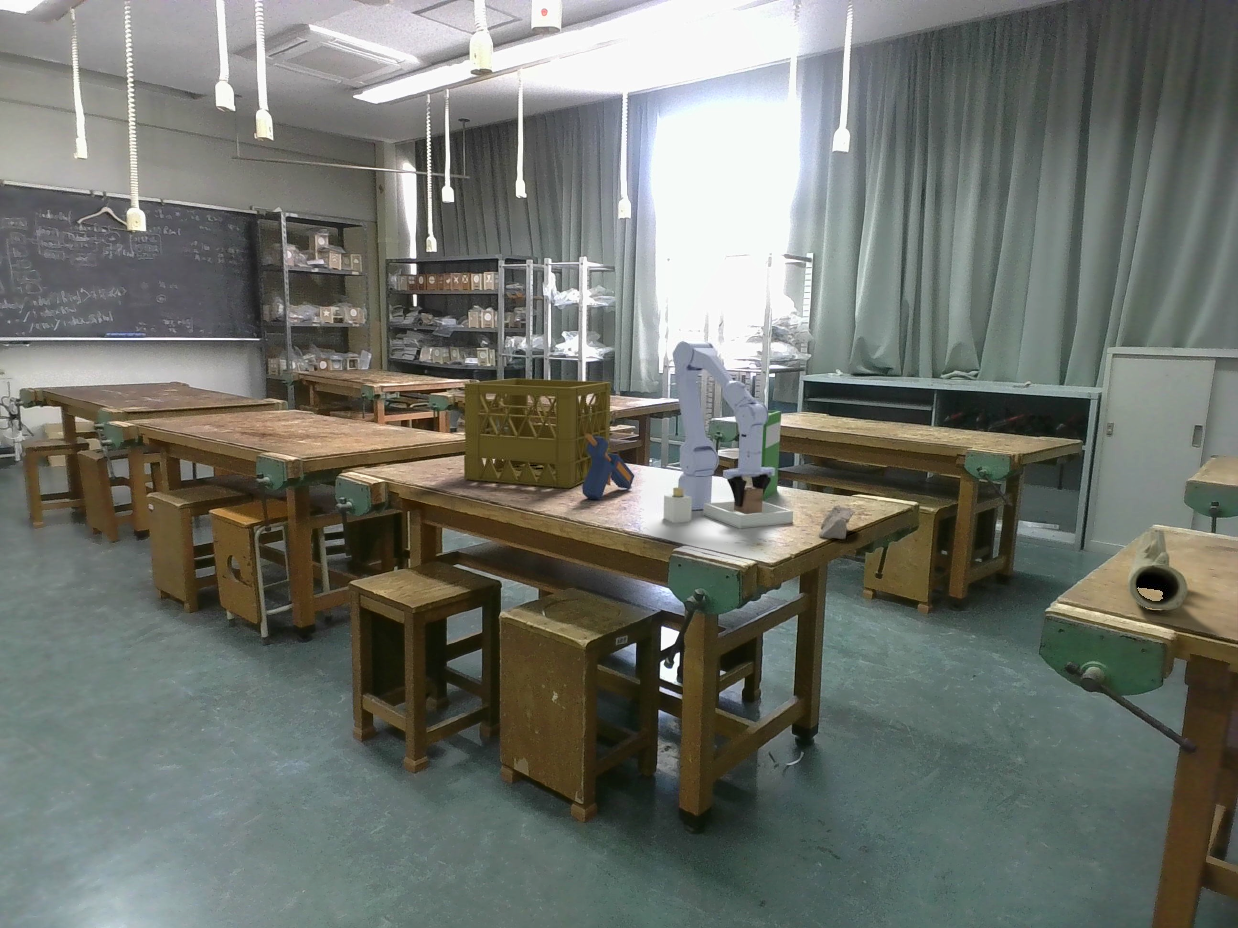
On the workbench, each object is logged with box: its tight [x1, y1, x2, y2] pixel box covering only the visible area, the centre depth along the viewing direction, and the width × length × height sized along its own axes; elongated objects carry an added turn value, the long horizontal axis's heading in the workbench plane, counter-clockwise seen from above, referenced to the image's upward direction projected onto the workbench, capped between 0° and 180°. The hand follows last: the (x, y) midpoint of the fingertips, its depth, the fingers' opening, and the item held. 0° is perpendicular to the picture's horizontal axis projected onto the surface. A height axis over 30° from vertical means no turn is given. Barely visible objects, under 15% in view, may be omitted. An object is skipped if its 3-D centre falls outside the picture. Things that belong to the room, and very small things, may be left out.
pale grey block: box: [663, 486, 692, 524], centre depth 197 cm, size 5×5×8 cm
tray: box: [702, 500, 794, 530], centre depth 200 cm, size 16×16×3 cm
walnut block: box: [733, 486, 764, 514], centre depth 199 cm, size 5×5×6 cm
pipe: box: [1127, 529, 1188, 611], centre depth 145 cm, size 28×8×10 cm, turn 153°
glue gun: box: [581, 433, 636, 501], centre depth 224 cm, size 6×31×15 cm
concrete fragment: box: [818, 505, 856, 540], centre depth 187 cm, size 7×14×6 cm, turn 151°
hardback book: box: [742, 410, 782, 502], centre depth 230 cm, size 18×7×24 cm, turn 156°
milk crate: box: [463, 377, 613, 490], centre depth 253 cm, size 36×36×30 cm
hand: (747, 505), depth 199 cm, fingers closed on walnut block, 5 cm apart
